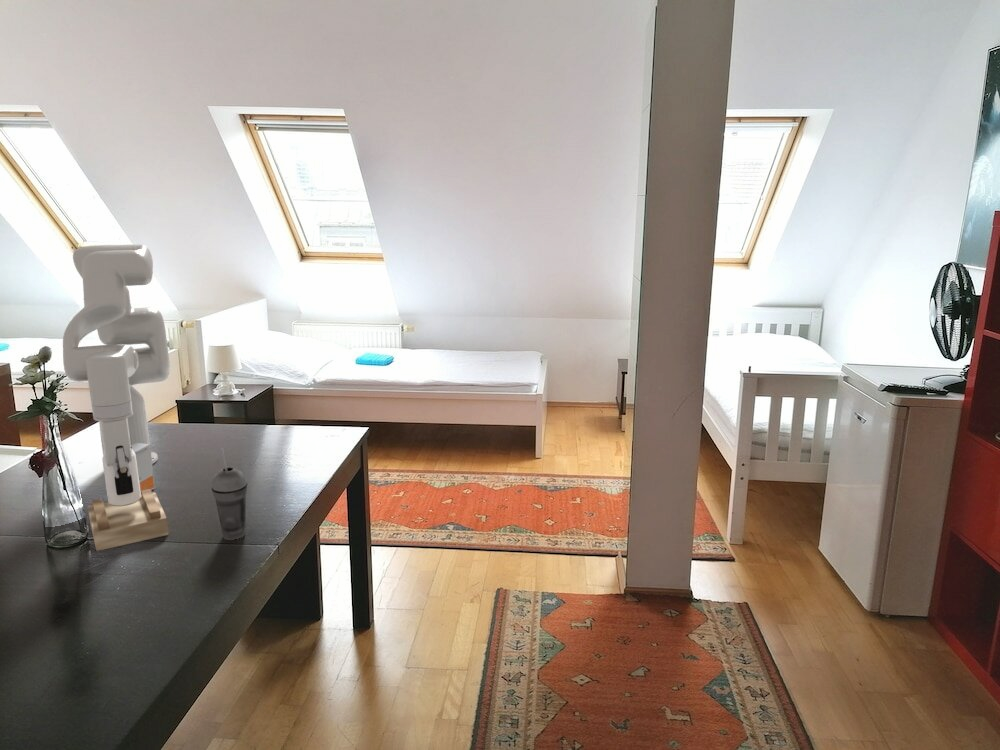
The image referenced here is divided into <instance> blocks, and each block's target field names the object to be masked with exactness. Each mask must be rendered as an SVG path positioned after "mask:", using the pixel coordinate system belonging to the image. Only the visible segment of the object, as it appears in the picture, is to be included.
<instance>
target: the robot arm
mask: <svg viewBox="0 0 1000 750" xmlns="http://www.w3.org/2000/svg"><path fill="white" fill-rule="evenodd" d="M72 253H73V254H72V259H73V264H74V267H75V269H76V271H77V272H78V274H79V276H80V277H81V278H82V287H83V289H82V290H83V291H82V292H83V308H82V309H80V310H79V311H78V312H77V313H76V314H75V315H74V316H73V317H72V319H71V320H70V321H69V322H68V324H67V326H66V328H65V330H64V332H63V336H62V337H63V338H62V360H63V361H62V362H63V369H64V372H65V375H66V376H67V378H68V379H69V380H71V381H73V382H78V383H79V382H88V383H87V384H88V389H89V396H90V402H91V403H90V404H91V410H92V417H93V418H92V419H93V420H94V421H96V422H98V423H99V432H100V442H101V448H102V456H103V455H104V458H105V463H106V465H107V466H110V465H113V464H114V469H115V475H116V477H114V478H115V486H116V493H117V495H123V494H128V493H132V492H133V484H132V477H131V475H130V470H129V464H128V463H130V462H131V461H132V458H131V445H133V444H135V443H143V444H150V445H151V443H150V442H151V441H150V435H149V426H148V425H149V424H148V418H147V409H146V401H145V399H144V397H143V395H142V393H141V392H140V391H139V390H137V388H135V387H134V385H135V386H136V385H141V384H151V383H160V382H165V381H166V380H167V379H169V378H170V377H169V376H170V374H171V368H170V367H171V366H170V357H169V349H168V341H167V333H166V326H165V325H166V324H165V321H164V318H163V315H162V313H161V312H160V310H159V309H157V308H154V307H149V306H148V307H132V305H131V304H132V303H131V299H130V291H129V289H128V287H131V286H146V285H149V284H150V283H151V281H152V279H153V274H154V270H153V268H154V263H153V262H154V261H153V256H152V253H151V250H150V249H149V247H148V246H146V245H144V244H101V245H100V244H99V245H97V244H95V245H86V246H81V247H78V248H77V249H75V250H74V251H73V252H72ZM95 331H97V334H98V339H99V340H100V342H101V343H102V344H103V345H102V344H100V345H89V346H86V345H85V346H79V345H80V343H81V341H82V340H83V339H84V337H86V336H87V335H89V334H90V333H92V332H95ZM143 344H145V345H147V346H148V347H138V348H134V347H133V346H131V345H143ZM116 452H117V453H116ZM151 457H152V465H154V464H155V463H156V462H157V461H158V460H159V455H158V454H157V452H154V451H151ZM125 458H126V462H125ZM128 458H129V459H128ZM115 460H118V462H119V463H116V461H115ZM128 461H129V462H128ZM117 466H119V468H118V469H117Z"/></svg>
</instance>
